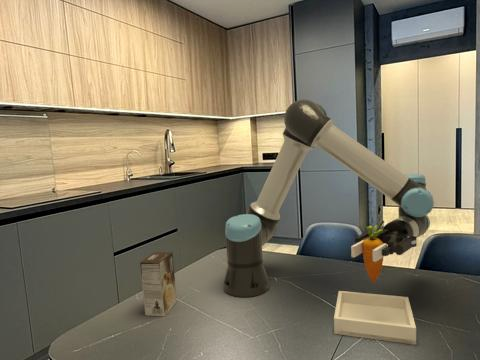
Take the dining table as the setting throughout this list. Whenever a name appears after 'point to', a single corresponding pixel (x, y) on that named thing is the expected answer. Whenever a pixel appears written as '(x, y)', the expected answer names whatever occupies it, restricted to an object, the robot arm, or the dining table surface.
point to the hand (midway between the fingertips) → (363, 253)
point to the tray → (375, 317)
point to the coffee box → (158, 283)
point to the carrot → (368, 247)
